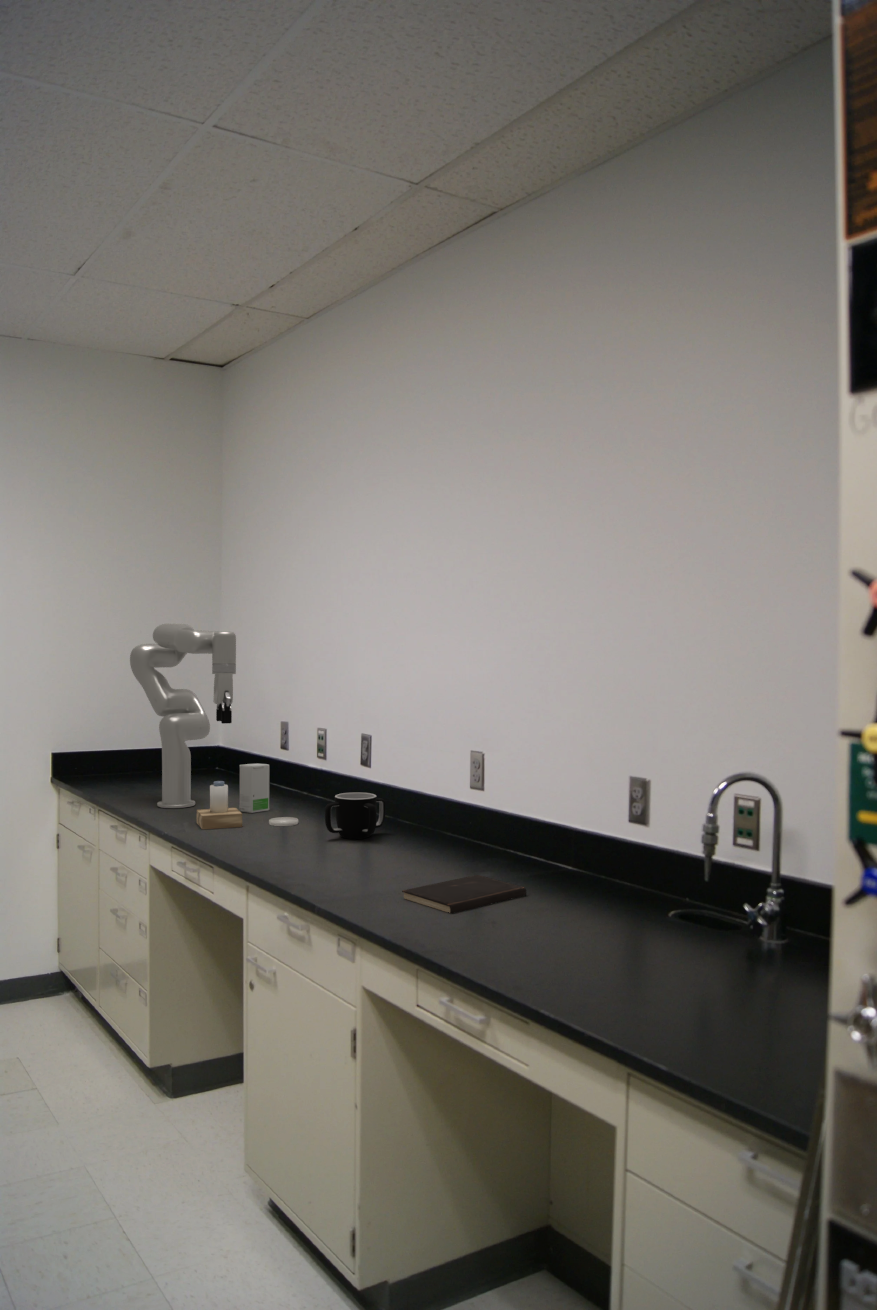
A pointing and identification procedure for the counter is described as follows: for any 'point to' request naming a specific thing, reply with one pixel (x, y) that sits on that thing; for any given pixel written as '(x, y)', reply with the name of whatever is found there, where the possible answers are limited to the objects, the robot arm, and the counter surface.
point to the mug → (355, 815)
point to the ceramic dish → (283, 821)
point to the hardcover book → (464, 893)
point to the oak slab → (219, 819)
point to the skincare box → (254, 788)
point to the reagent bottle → (218, 797)
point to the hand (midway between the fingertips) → (223, 722)
